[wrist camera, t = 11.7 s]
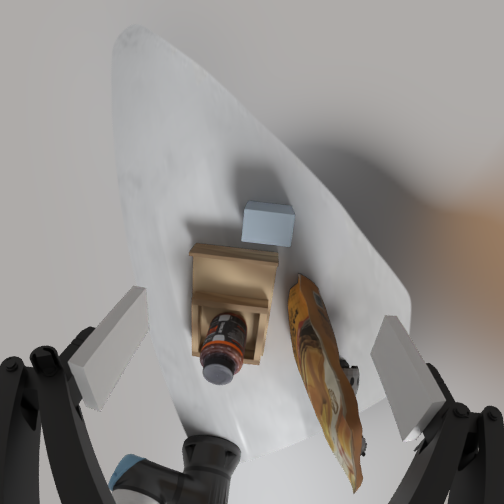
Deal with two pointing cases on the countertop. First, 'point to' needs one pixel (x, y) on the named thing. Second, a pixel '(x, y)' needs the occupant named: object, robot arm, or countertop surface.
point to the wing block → (268, 223)
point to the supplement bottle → (223, 348)
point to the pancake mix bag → (325, 376)
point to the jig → (232, 292)
